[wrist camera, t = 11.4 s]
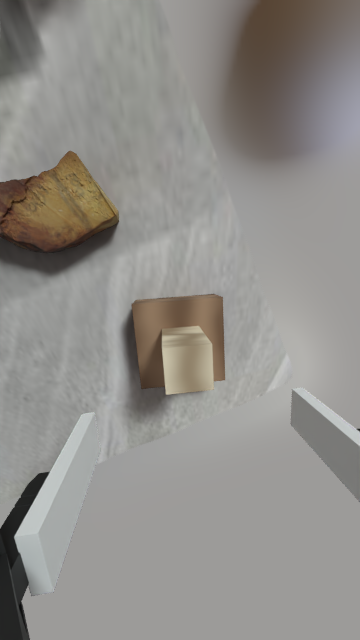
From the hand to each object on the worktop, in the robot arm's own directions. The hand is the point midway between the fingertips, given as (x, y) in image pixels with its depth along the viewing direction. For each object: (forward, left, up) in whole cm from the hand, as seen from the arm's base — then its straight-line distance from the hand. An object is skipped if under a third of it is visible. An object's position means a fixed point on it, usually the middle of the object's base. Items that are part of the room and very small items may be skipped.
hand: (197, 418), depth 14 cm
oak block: (0, 0, -16) cm, 16 cm away
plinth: (0, 0, -21) cm, 21 cm away
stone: (-15, +19, -21) cm, 32 cm away
